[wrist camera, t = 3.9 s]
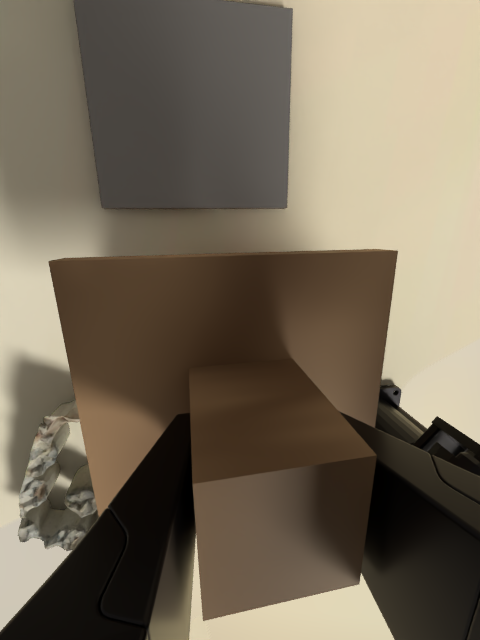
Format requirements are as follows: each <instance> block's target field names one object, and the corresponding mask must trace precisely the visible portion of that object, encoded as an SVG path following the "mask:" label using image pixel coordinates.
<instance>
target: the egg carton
mask: <svg viewBox="0 0 480 640" xmlns="http://www.w3.org/2000/svg"><path fill="white" fill-rule="evenodd" d="M79 421H80V419H79V414H78V409H77V404H76V400H74V401H73V402H70V403H64V404H61V405H60V406H59V407H58V408H57V409H56V410H55V411H54V412H53V413H52V414H51V415H50V416H46V417H44V419H43V422H44V424H42V423H41V424H40V426H39V429H38V432H37V434H36V436H35V440H34V444H33V447H32V449H31V453H30V458H29V464H28V467H27V470H26V472H25V478H24V481H23V485H22V488H21V491H20V494H19V508H20V517H21V518H22V520H21V524H20V527H19V531H18V536H19V539H20V542H26V541H28V540H29V539H30V538H38V539H41V540H42V541H44V545H45V548H46V549H49V548H51V547H54V546H60V547H62V548H63V549H64V550H66V551H69V550H73V549H74V548H75V547H76V546H77V544H78V543H79V542H80V541H81V539H82V538H83V537H84V536H85V534H86V533H87V532H88V531H89V529H90V528H91V527H92V526H93V524H94V523H95V522H96V520H97V519H98V518H99V516H98V511H97V505H96V500H95V495H94V490H93V485H92V480H91V475H90V470H89V465H88V464H87V465H84V466H82V467H81V468H79V469H78V471H77V472H76V474H75V476H74V478H73V481H72V483H71V485H70V487H69V489H68V491H67V493H66V496H65V499H64V504H65V505H66V506H67V508H66V510H56V509H52V508H51V505H50V502H49V500H48V499H47V497H48V495H49V493H50V491H51V489H52V487H53V486H54V484H55V482H56V480H57V478H58V476H59V473H60V467H59V464H58V463H57V462H56V458H57V456H58V454H59V453H60V451H61V449H62V448H63V446H64V444H65V442H66V440H67V438H68V437H69V434H70V428H69V425H68V423H67V422H79Z"/></svg>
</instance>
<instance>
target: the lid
mask: <svg viewBox="0 0 480 640" xmlns="http://www.w3.org/2000/svg"><path fill="white" fill-rule="evenodd" d="M397 254H398V251H394V250H381V249H363V250H328V251H294V252H259V253H224V254H189V255H154V256H119V257H84V258H63V259H58V260H52V261H49V267H50V272H51V277H52V282H53V287H54V292H55V297H56V302H57V307H58V312H59V317H60V322H61V327H62V333H63V338H64V343H65V348H66V353H67V358H68V363H69V368H70V373H71V378H72V383H73V388H74V394H75V399H76V404H77V409H78V414H79V419H80V424H81V429H82V434H83V439H84V444H85V449H86V455H87V460H88V465H89V470H90V475H91V480H92V485H93V490H94V495H95V500H96V505H97V510H98V516H100V515H101V514H102V512H103V511H104V510H105V509H106V508H107V507H108V505H109V503H110V502H111V501H112V500H113V498H114V497H115V496H116V494H117V493H118V492H119V490H120V489H121V488H122V486H123V485H124V484H125V482H126V481H127V480H128V478H129V477H130V476H131V474H132V473H133V472H134V470H135V469H136V468H137V466H138V465H139V464H140V463H141V461H142V460H143V459H144V457H145V456H146V455H147V453H148V452H149V451H150V449H151V448H152V447H153V445H154V444H155V443H156V441H157V440H158V439H159V437H160V436H161V435H162V433H163V432H164V431H165V430H166V428H167V427H168V426H169V424H170V423H171V422H172V420H173V419H174V418H175V416H176V415H177V414H183V413H190V421H191V453H192V484H193V497H194V510H195V523H196V535H197V549H198V561H199V574H200V587H201V599H202V612H203V621H205V620H209V619H213V618H217V617H222V616H226V615H230V614H235V613H239V612H243V611H247V610H252V609H256V608H260V607H264V606H268V605H273V604H277V603H281V602H286V601H290V600H294V599H298V598H302V597H307V596H311V595H315V594H320V593H324V592H328V591H333V590H337V589H341V588H345V587H349V586H354V585H358V584H359V582H360V575H361V568H362V560H363V553H364V546H365V538H366V531H367V524H368V517H369V509H370V502H371V495H372V487H373V480H374V473H375V465H376V458H377V455H376V454H375V452H374V451H373V450H372V449H371V448H370V447H369V446H368V444H367V443H366V442H365V441H364V440H363V439H362V438H361V436H360V435H359V434H358V433H357V432H356V431H355V430H354V428H353V427H352V426H351V425H350V424H349V423H348V422H347V420H346V419H345V418H344V417H343V416H342V415H341V413H340V412H342V413H344V414H346V415H349V416H351V417H353V418H355V419H357V420H359V421H361V422H363V423H366V424H368V425H370V426H372V427H374V428H375V422H376V415H377V407H378V399H379V392H380V384H381V376H382V369H383V361H384V353H385V346H386V338H387V330H388V323H389V315H390V307H391V300H392V292H393V284H394V277H395V269H396V261H397ZM339 411H340V412H339Z"/></svg>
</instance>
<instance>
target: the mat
mask: <svg viewBox="0 0 480 640" xmlns="http://www.w3.org/2000/svg"><path fill="white" fill-rule="evenodd" d="M74 7H75V15H76V22H77V29H78V36H79V44H80V51H81V58H82V66H83V73H84V80H85V88H86V95H87V102H88V110H89V117H90V124H91V132H92V139H93V146H94V154H95V161H96V168H97V176H98V183H99V190H100V198H101V205H102V208H104V209H284V208H287V193H288V158H289V122H290V87H291V51H292V15H293V9H292V8H283V7H275V6H266V5H258V4H249V3H241V2H232V1H223V0H74Z"/></svg>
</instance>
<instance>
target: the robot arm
mask: <svg viewBox="0 0 480 640" xmlns="http://www.w3.org/2000/svg"><path fill="white" fill-rule="evenodd" d="M394 391H395V392H394ZM393 392H394V393H393ZM400 397H401V389H400V388H399V387H397V386H396V385H390V386H381V387H380V392H379V399H378V407H377V415H376V422H375V428H374V427H372V426H370V425H368V424H366V423H363V422H361V421H359V420H357V419H355V418H353V417H351V416H349V415H346V414H344V413H342V412H340V411H339V412H340V413H341V415H342V416H343V417H344V418H345V419H346V420H347V422H348V423H349V424H350V425H351V426H352V427H353V428H354V430H355V431H356V432H357V433H358V434H359V435H360V436H361V438H362V439H363V440H364V441H365V442H366V443H367V444H368V446H369V447H370V448H371V449H372V450H373V451H374V452H375V454H376V455H377V458H376V465H375V473H374V480H373V487H372V495H371V502H370V509H369V517H368V524H367V531H366V538H365V546H364V553H363V560H362V568H361V573H362V575H363V577H364V579H365V581H366V583H367V585H368V587H369V589H370V591H371V593H372V595H373V597H374V599H375V601H376V603H377V605H378V607H379V609H380V611H381V613H382V615H383V617H384V619H385V621H386V623H387V625H388V627H389V629H390V631H391V633H392V635H393V637H394V639H395V640H480V445H479V444H478V443H477V442H475V441H473V440H472V439H471V438H469V437H468V436H466V435H465V434H463V433H462V432H460V431H459V430H457V429H455V428H454V427H453V426H451V425H450V424H448V423H446V422H445V421H444V420H442V419H441V418H439V417H436V418H435V419H434V420H433V421H432V423H433V424H432V425H431V426H430V427H429V428H428V429H427V428H425V427H424V426H423V425H421V424H420V423H419V422H418V421H416V420H415V419H414V418H413V417H411V416H410V415H409V414H408V413H407V412H405V411H404V410H403V409H401V408H400V407H399V403H400ZM195 538H196V523H195V510H194V497H193V484H192V453H191V421H190V413H183V414H177V415H176V416H175V418H174V419H173V420H172V422H171V423H170V424H169V426H168V427H167V428H166V430H165V431H164V432H163V433H162V435H161V436H160V437H159V439H158V440H157V441H156V443H155V444H154V445H153V447H152V448H151V449H150V451H149V452H148V453H147V455H146V456H145V457H144V459H143V460H142V461H141V463H140V464H139V465H138V466H137V468H136V469H135V470H134V472H133V473H132V474H131V476H130V477H129V478H128V480H127V481H126V482H125V484H124V485H123V486H122V488H121V489H120V490H119V492H118V493H117V494H116V496H115V497H114V498H113V500H112V501H111V502H110V503H109V505H108V507H107V508H106V509H105V510H104V511H103V512H102V514H101V515H100V516H99V518H98V519H97V520H96V522H95V523H94V524H93V526H92V527H91V528H90V529H89V531H88V532H87V533H86V534H85V536H84V537H83V538H82V539H81V541H80V542H79V543H78V544H77V546H76V547H75V548H74V549H73V550H72V552H71V553H70V554H69V555H68V556H67V558H66V559H65V560H64V561H63V562H62V563H61V564H60V565H59V567H58V568H57V569H56V570H55V571H54V572H53V573H52V575H51V576H50V577H49V578H48V579H47V580H46V581H45V583H44V584H43V585H42V586H41V587H40V588H39V589H38V591H37V592H36V593H35V594H34V595H33V596H32V597H31V598H30V599H29V600H28V601H27V603H26V604H25V605H24V606H23V607H22V608H21V609H20V610H19V611H18V613H17V614H16V615H15V616H14V617H13V618H12V619H11V620H10V621H9V623H8V624H7V625H6V626H5V627H4V628H3V629H2V630H1V632H0V640H189V631H190V615H191V599H192V583H193V569H194V553H195Z"/></svg>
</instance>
